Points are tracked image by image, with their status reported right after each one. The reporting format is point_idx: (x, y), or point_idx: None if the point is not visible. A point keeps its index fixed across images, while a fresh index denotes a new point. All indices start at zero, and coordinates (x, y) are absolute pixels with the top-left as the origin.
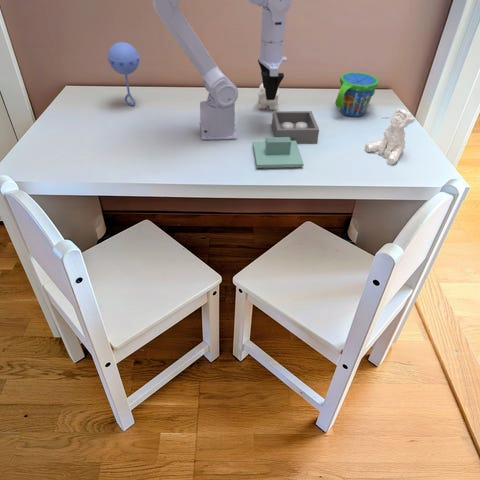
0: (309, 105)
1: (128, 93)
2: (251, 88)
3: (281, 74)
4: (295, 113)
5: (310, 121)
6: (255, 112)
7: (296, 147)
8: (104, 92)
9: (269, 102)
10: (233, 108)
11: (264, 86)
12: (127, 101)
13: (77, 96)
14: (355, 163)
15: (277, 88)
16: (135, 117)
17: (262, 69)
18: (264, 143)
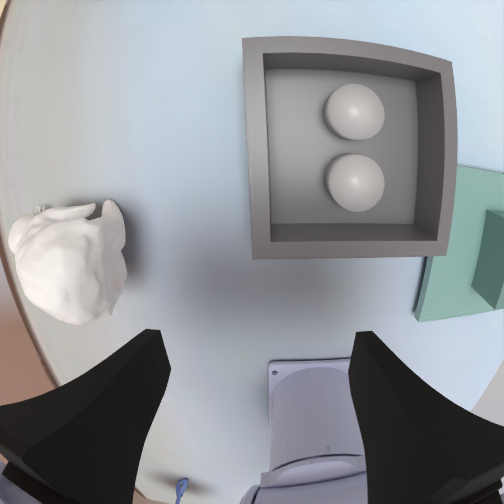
0: (78, 69)
1: (180, 497)
2: (13, 277)
3: (489, 477)
4: (266, 128)
5: (328, 60)
6: (152, 287)
7: (480, 176)
8: (149, 486)
9: (119, 251)
10: (350, 441)
11: (167, 373)
12: (178, 484)
13: (172, 500)
14: (499, 24)
15: (427, 384)
16: (230, 481)
17: (132, 477)
18: (440, 286)
